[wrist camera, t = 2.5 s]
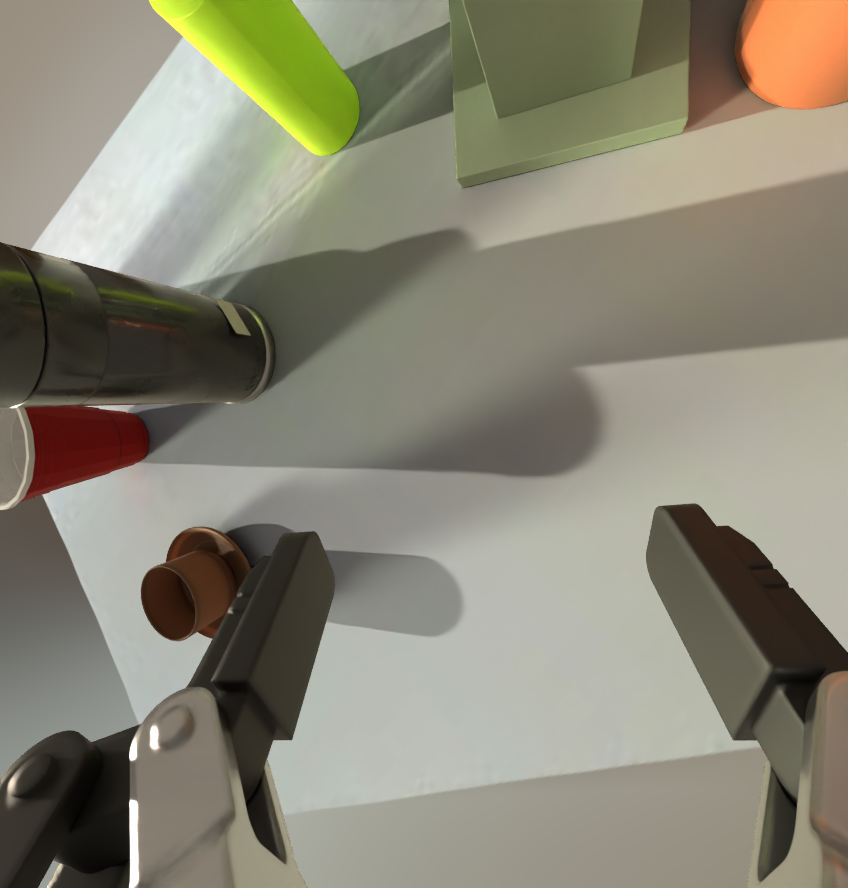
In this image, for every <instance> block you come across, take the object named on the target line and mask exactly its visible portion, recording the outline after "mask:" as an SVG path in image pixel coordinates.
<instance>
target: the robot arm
mask: <svg viewBox="0 0 848 888" xmlns="http://www.w3.org/2000/svg"><path fill="white" fill-rule="evenodd" d="M274 360H275V351H274V343H273V339H272V335H271V333H270V330H269V328H268V326H267V324H266V323H265V321H264V320H263V318H262V317H261V316H260V315H259V314H258V313H257V312H256V311H255V310H253V309H252V308H250V307H248V306H245V305H242V304H238V303H234V302H226V301H223V300H219V299H215V298H211V297H208V296H204V295H200V294H197V293H193V292H189V291H185V290H181V289H177V288H174V287H170V286H166V285H162V284H158V283H155V282H151V281H147V280H143V279H139V278H135V277H132V276H128V275H124V274H120V273H116V272H112V271H109V270H105V269H101V268H97V267H93V266H89V265H86V264H82V263H78V262H74V261H70V260H66V259H63V258H58V257H54V256H50V255H46V254H43V253H39V252H35V251H31V250H27V249H24V248H20V247H16V246H12V245H8V244H5V243H1V242H0V408H10V407H11V408H22V407H64V406H98V405H141V404H184V403H229V404H235V403H246V402H249V401H251V400H253V399H255V398H256V397H257V396H259V395H260V394H261V393H262V392H263V390H264V389H265V388H266V386H267V384H268V382H269V381H270V378H271V375H272V372H273V368H274ZM646 562H647V568H648V572H649V575H650V578H651V580H652V582H653V584H654V586H655V588H656V590H657V592H658V594H659V596H660V598H661V600H662V602H663V604H664V606H665V608H666V610H667V612H668V614H669V616H670V618H671V620H672V622H673V624H674V626H675V628H676V629H677V631H678V633H679V635H680V637H681V639H682V641H683V643H684V645H685V647H686V649H687V651H688V653H689V655H690V657H691V659H692V661H693V663H694V665H695V667H696V669H697V671H698V673H699V675H700V677H701V678H702V680H703V682H704V684H705V686H706V688H707V690H708V692H709V694H710V696H711V698H712V700H713V702H714V704H715V706H716V708H717V710H718V712H719V714H720V716H721V718H722V720H723V722H724V724H725V725H726V727H727V729H728V731H729V733H730V735H731V737H732V739H733V740H758V742H759V744H760V746H761V748H762V749H763V751H764V753H765V755H766V756H767V758H768V759H767V761H766V763H765V767H764V773H763V780H762V787H761V794H760V801H759V808H758V815H757V821H756V828H755V835H754V842H753V850H752V856H751V863H750V869H749V875H748V880H747V885H746V888H848V652H847V651H846V650H845V649H844V648H843V647H842V645H841V644H840V643H839V642H838V641H837V640H836V638H835V637H834V636H833V635H832V634H831V632H830V631H829V630H828V629H827V628H826V627H825V625H824V624H823V623H822V622H821V621H820V620H819V618H818V617H817V616H816V615H815V614H814V613H813V611H812V610H811V609H810V608H809V607H808V606H807V604H806V603H805V602H804V601H803V600H802V598H801V597H800V596H799V595H798V594H797V593H796V591H795V590H794V589H793V588H790V587H789V586H788V582H787V581H786V580H785V579H784V577H783V576H782V575H781V574H780V573H779V572H778V570H777V569H774V568H773V564H772V563H771V562H770V561H769V560H768V559H767V557H766V556H765V555H764V554H763V553H762V552H761V550H760V549H759V548H758V547H757V546H756V545H755V543H753V542H752V541H750V540H749V539H747V538H746V537H744V536H743V535H741V534H740V533H738V532H737V531H735V530H734V529H732V528H731V527H729V526H716V525H715V524H714V523H713V521H712V520H711V519H710V517H709V516H708V515H707V514H706V512H705V511H704V510H703V509H702V508H701V507H700V506H699V505H697V504H681V505H668V506H658V507H657V508H656V509H655V512H654V516H653V521H652V526H651V531H650V536H649V541H648V547H647V552H646ZM334 587H335V581H334V574H333V570H332V568H331V565H330V563H329V560H328V558H327V556H326V553H325V551H324V548H323V546H322V543H321V541H320V538H319V536H318V534H317V533H316V532H314V531H312V532H298V533H286V534H284V535H282V536H281V538H280V539H279V541H278V544H277V546H276V548H275V550H274V552H273V554H272V556H264V557H263V558H262V559H261V560H260V561H259V562H258V563H257V564H256V565H255V566H254V567H253V568H252V569H251V570H250V571H249V572H248V573H247V575H246V577H245V579H244V581H243V583H242V585H241V586H240V588H239V590H238V592H237V597H235V598H234V600H233V602H232V604H231V605H230V607H229V609H228V614H226V615H225V617H224V619H223V621H222V622H221V624H220V626H219V628H218V630H217V632H216V634H215V636H214V638H213V640H212V641H211V643H210V645H209V647H208V649H207V651H206V653H205V655H204V657H203V659H202V660H201V662H200V664H199V666H198V668H197V670H196V672H195V674H194V676H193V677H192V679H191V681H190V683H189V684H188V686H187V687H186V688H185V689H182V690H180V691H177V692H176V693H174V694H172V695H170V696H169V697H167V698H166V699H164V700H163V701H162V702H161V703H160V704H158V705H157V706H156V707H155V708H154V709H153V710H152V711H151V712H150V714H149V715H148V716H147V717H146V718H145V720H144V721H143V723H142V724H140V725H137V726H135V727H132V728H129V729H126V730H124V731H121V732H118V733H116V734H113V735H111V736H108V737H105V738H102V739H99V740H97V741H94V742H90V741H89V740H88V739H86V738H85V737H84V736H82V735H81V734H80V733H79V732H75V731H63V732H60V733H56V734H53V735H51V736H49V737H47V738H45V739H44V740H42V741H40V742H39V743H37V744H36V745H34V746H33V747H32V748H30V749H29V750H28V751H26V753H24V754H23V755H22V756H21V757H20V758H19V759H18V760H16V761H15V762H14V763H13V764H12V766H11V767H10V768H9V769H8V770H7V771H6V772H5V774H4V775H3V776H2V777H1V779H0V888H38V887H39V885H40V883H41V881H42V879H43V878H44V876H45V874H46V872H47V870H48V868H49V867H50V865H51V863H52V861H53V860H54V861H56V862H58V863H60V864H59V866H58V868H57V870H56V872H55V874H54V875H53V877H52V879H51V881H50V883H49V885H48V886H47V888H308V887H307V885H306V883H305V881H304V879H303V877H302V875H301V873H300V871H299V868H298V866H297V863H296V860H295V857H294V853H293V849H292V846H291V842H290V839H289V835H288V831H287V828H286V824H285V820H284V816H283V813H282V809H281V805H280V802H279V798H278V794H277V791H276V787H275V784H274V780H273V776H272V773H271V769H270V765H269V763H268V760H267V757H268V754H269V751H270V748H271V745H272V742H273V740H292V738H293V735H294V731H295V728H296V724H297V721H298V717H299V714H300V710H301V707H302V703H303V700H304V696H305V693H306V689H307V686H308V683H309V679H310V676H311V672H312V669H313V665H314V662H315V658H316V655H317V651H318V648H319V644H320V641H321V637H322V634H323V630H324V627H325V623H326V620H327V616H328V613H329V610H330V606H331V603H332V599H333V595H334Z"/></svg>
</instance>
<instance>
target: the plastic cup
mask: <svg viewBox="0 0 848 888" xmlns="http://www.w3.org/2000/svg"><path fill="white" fill-rule="evenodd" d="M148 446H149V438H148V432H147V429H146V427H145V425H144V423H143V422H142V421H141V419H140V418H139V417H138V416H136V415H133V414H131V413H126V412H122V411H112V410H103V409H99V408H94V407H86V406H64V407H22V408H11V407H10V408H0V509H1V510H2V509H9V508H12V507H14V506H15V505H16V504H18V503H20V502H22V501H24V500H27V499H31V498H34V497H35V496H38V495H42V494H46V493H49V492H50V491H53V490H56V489H59V488H63V487H66V486H69V485H72V484H76V483H79V482H82V481H85V480H89V479H92V478H95V477H98V476H102V475H105V474H108V473H110V472H112V471H115V470H118V469H121V468H124V467H128V466H131V465H134V464H135V463H137V462H140V461H141V460H142V459H144V458H145V456H146V454H147V451H148Z"/></svg>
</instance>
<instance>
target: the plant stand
mask: <svg viewBox="0 0 848 888" xmlns="http://www.w3.org/2000/svg"><path fill="white" fill-rule="evenodd" d="M449 13H450V37H451V60H452V84H453V108H454V131H455V155H456V178H457V180H458V182H459V184H460V185H461V187H462V188H465V187H469V186H473V185H477V184H481V183H485V182H489V181H493V180H497V179H501V178H505V177H509V176H513V175H517V174H521V173H525V172H529V171H533V170H537V169H541V168H545V167H549V166H553V165H557V164H561V163H565V162H569V161H573V160H577V159H581V158H585V157H589V156H593V155H597V154H601V153H605V152H608V151H612V150H616V149H620V148H624V147H628V146H632V145H636V144H640V143H644V142H648V141H652V140H656V139H660V138H664V137H668V136H672V135H676V134H680V133H683V131H684V128H685V126H686V123H687V121H688V118H689V73H690V0H449Z"/></svg>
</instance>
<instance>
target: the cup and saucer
mask: <svg viewBox="0 0 848 888" xmlns="http://www.w3.org/2000/svg"><path fill="white" fill-rule="evenodd" d="M250 570H251V568H250V565H249V563H248V561H247V559H246V557H245V555H244V554H243V552H242V551H241V550H240V548H239V547H238V546H237V545H236V544H235V543H234V542H233V541H232V540H231V539H230V538H229V537H227V536H226V535H224V534H223V533H221V532H220V531H218V530H215V529H212V528H209V527H193V528H189V529H187V530H184V531H183V532H181V533H180V534H179V535H178V536H177V537H176V538H175V539H174V540H173V542H172V544H171V546H170V548H169V551H168V554H167V558H166V563H163V564H160V565H158V566H155V567H153V568H151V569H150V570H149V571H148V572H147V573H146V575H145V576H144V578H143V581H142V585H141V600H142V605H143V609H144V612H145V614H146V616H147V618H148V620H149V622H150V623H151V625H152V626H153V628H154V629H155V630H156V631H157V632H158V633H159V634H160V635H162V636H163V637H165V638H167V639H169V640H172V641H182V640H185V639H187V638H188V637H190V636H191V635H193V634H195V633H196V632H198V633H200V634H202V635H204V636H206V637H208V638H212V639H213V638H214V636H215V634H216V632H217V630H218V628H219V626H220V624H221V622H222V621H223V619H224V617H225V615H226V614H228V609H229V607H230V605H231V604H232V602H233V600H234V598H235V597H237V592H238V590H239V588H240V586H241V585H242V583H243V581H244V579H245V577H246V575H247V573H248V572H249V571H250Z"/></svg>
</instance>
